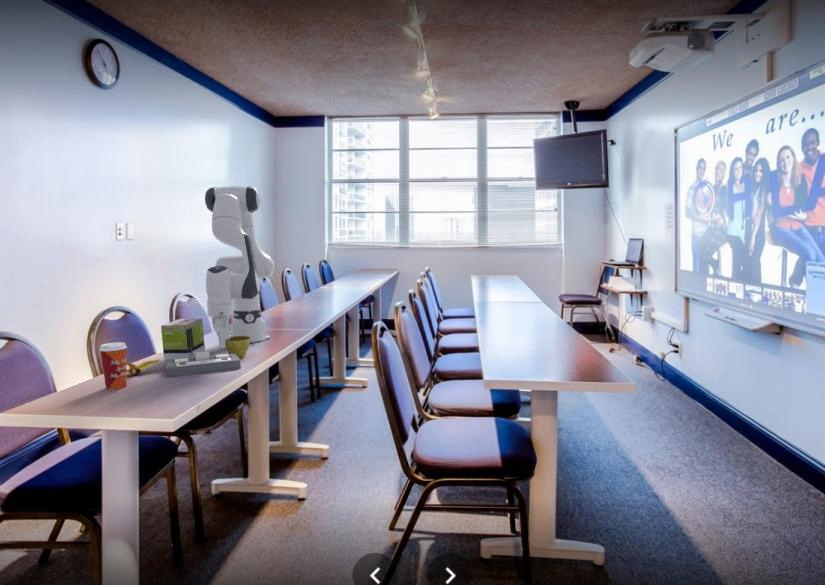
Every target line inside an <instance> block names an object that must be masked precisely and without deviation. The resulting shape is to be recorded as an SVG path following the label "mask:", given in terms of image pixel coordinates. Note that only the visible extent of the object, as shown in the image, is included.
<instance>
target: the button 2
mask: <svg viewBox="0 0 825 585" xmlns="http://www.w3.org/2000/svg"><path fill="white" fill-rule="evenodd" d="M218 354H219V355H215V354H214V355H215V358H216V359H217V358H226V357H230V356H229V354H225V353H218Z"/></svg>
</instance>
